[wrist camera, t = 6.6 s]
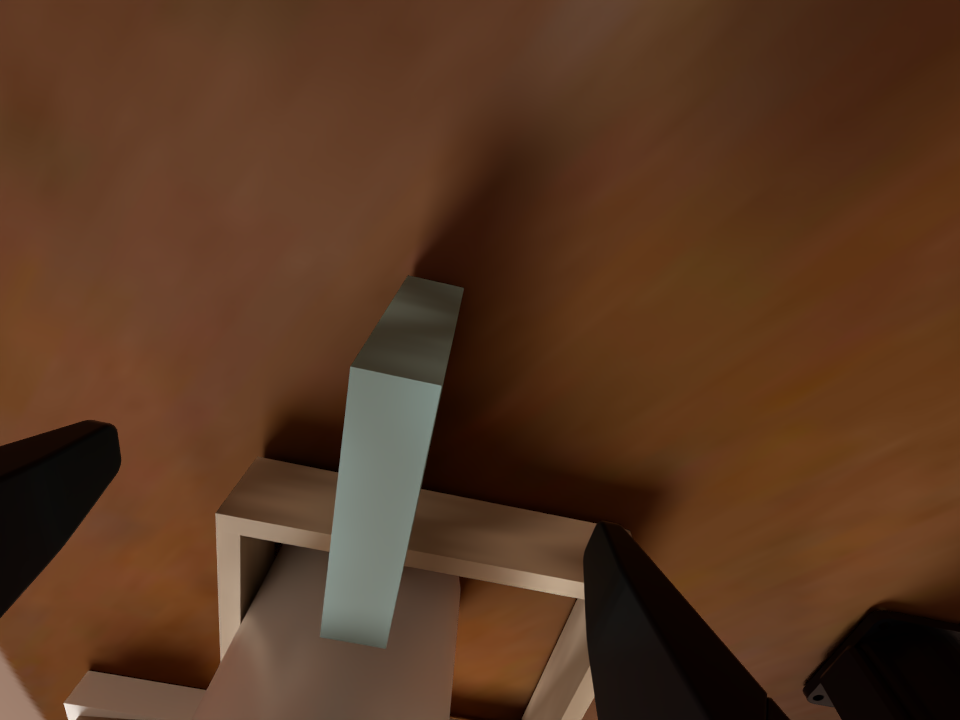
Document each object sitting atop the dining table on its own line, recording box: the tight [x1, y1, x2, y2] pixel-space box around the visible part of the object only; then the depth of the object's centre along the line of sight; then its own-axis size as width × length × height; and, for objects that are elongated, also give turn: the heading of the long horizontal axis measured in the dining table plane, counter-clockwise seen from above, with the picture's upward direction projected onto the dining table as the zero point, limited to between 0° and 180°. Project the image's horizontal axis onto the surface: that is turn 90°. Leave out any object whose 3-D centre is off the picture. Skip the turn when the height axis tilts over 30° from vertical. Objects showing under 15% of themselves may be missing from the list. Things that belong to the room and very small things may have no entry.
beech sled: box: [216, 275, 632, 720], centre depth 17 cm, size 15×24×6 cm, turn 167°
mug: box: [191, 543, 461, 720], centre depth 18 cm, size 12×10×9 cm
